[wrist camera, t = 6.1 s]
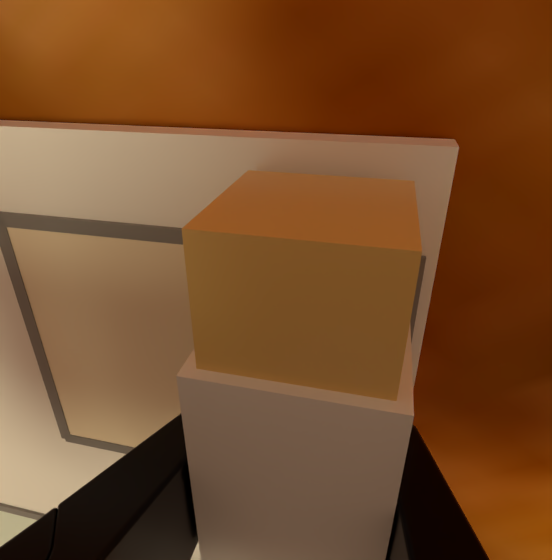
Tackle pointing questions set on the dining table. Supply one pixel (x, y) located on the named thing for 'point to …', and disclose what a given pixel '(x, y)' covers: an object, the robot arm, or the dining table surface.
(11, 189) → the picture board
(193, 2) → the dining table surface
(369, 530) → the marker
